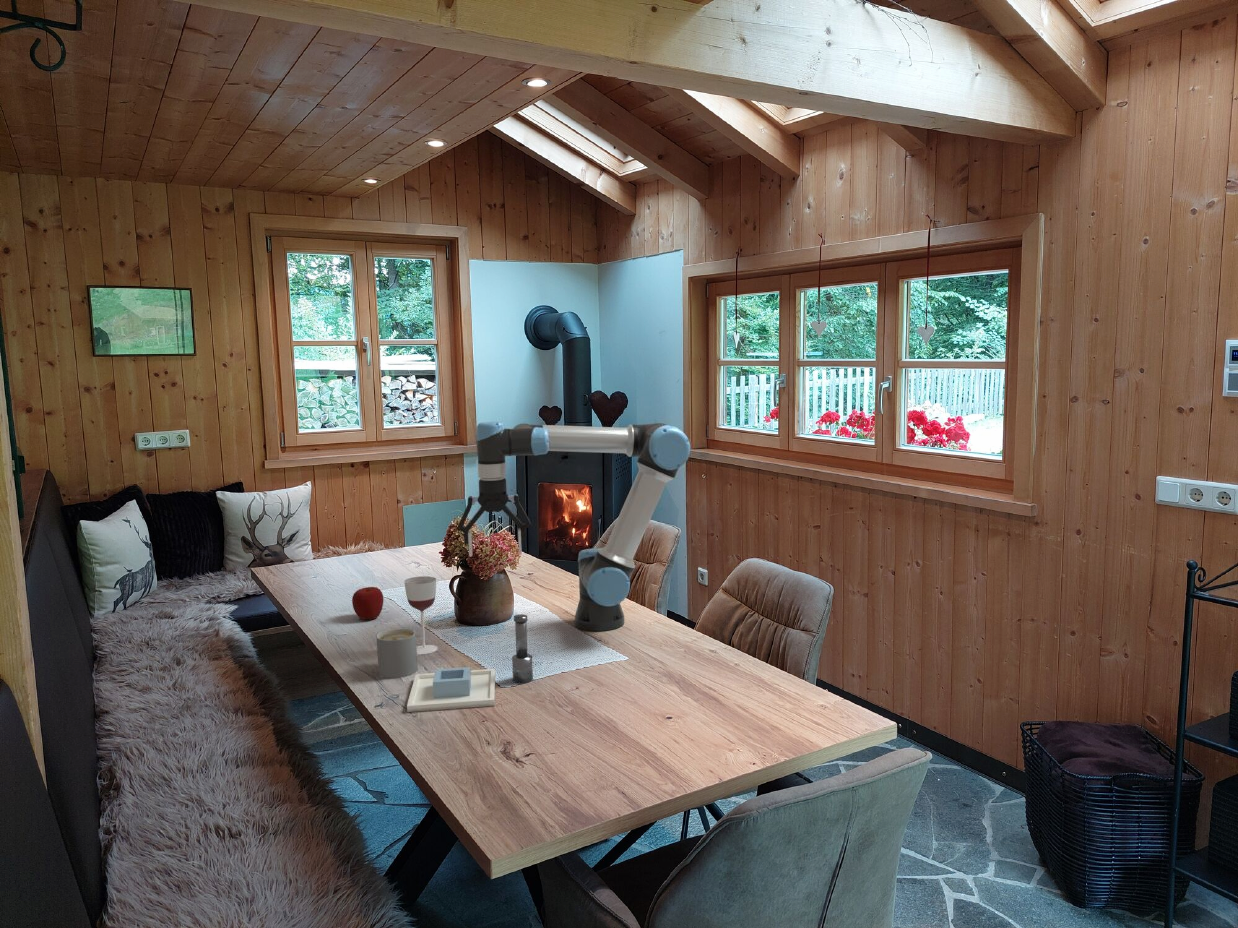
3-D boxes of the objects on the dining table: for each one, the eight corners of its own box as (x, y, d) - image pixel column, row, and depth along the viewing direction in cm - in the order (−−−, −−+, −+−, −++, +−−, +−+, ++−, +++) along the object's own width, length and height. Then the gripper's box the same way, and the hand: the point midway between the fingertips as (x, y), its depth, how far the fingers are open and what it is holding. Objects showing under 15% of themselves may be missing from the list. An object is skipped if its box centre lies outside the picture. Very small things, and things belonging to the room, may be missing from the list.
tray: (495, 674, 221) (495, 668, 220) (494, 705, 201) (494, 699, 201) (415, 679, 218) (415, 674, 218) (407, 712, 198) (406, 705, 198)
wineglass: (432, 655, 236) (429, 584, 233) (403, 653, 238) (399, 583, 235) (444, 645, 244) (440, 576, 241) (415, 643, 245) (411, 575, 243)
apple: (346, 621, 268) (344, 590, 267) (366, 612, 277) (364, 582, 275) (371, 624, 264) (369, 592, 263) (390, 615, 273) (389, 584, 272)
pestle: (532, 675, 219) (530, 612, 217) (533, 682, 214) (530, 618, 212) (512, 676, 219) (510, 614, 217) (513, 683, 214) (510, 620, 212)
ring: (469, 695, 206) (468, 679, 205) (433, 698, 205) (432, 682, 204) (471, 682, 214) (470, 666, 213) (436, 684, 213) (435, 669, 212)
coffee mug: (423, 672, 223) (421, 635, 222) (385, 680, 218) (383, 643, 217) (406, 657, 234) (404, 622, 233) (369, 665, 229) (367, 629, 228)
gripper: (537, 474, 240) (540, 548, 243) (447, 478, 237) (450, 553, 240) (538, 478, 233) (541, 554, 236) (445, 482, 230) (449, 559, 233)
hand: (495, 554), depth 238 cm, fingers open, 13 cm apart
